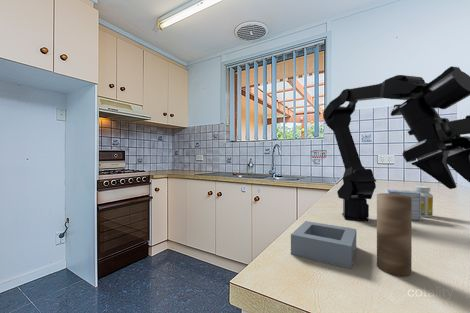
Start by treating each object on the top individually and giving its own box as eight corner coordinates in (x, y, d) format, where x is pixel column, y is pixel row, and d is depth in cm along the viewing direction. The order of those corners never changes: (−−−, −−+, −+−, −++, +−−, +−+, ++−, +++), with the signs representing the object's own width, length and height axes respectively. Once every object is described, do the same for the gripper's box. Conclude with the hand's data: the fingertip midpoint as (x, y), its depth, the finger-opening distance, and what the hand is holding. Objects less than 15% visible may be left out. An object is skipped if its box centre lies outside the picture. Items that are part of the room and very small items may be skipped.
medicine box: (416, 217, 72) (416, 190, 72) (421, 221, 68) (421, 192, 68) (387, 214, 75) (387, 189, 75) (390, 218, 71) (390, 191, 71)
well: (351, 268, 39) (351, 246, 39) (290, 253, 45) (290, 234, 45) (356, 247, 49) (356, 228, 49) (305, 237, 55) (305, 220, 55)
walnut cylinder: (381, 274, 38) (381, 197, 38) (373, 260, 43) (373, 192, 42) (417, 278, 36) (417, 199, 36) (404, 264, 41) (404, 194, 41)
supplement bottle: (416, 216, 72) (416, 187, 72) (408, 212, 77) (408, 185, 77) (436, 218, 71) (436, 188, 71) (427, 214, 76) (427, 185, 76)
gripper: (442, 97, 41) (498, 177, 35) (485, 100, 49) (537, 166, 43) (386, 129, 50) (423, 196, 45) (430, 127, 58) (466, 184, 52)
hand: (464, 185), depth 46 cm, fingers open, 9 cm apart
